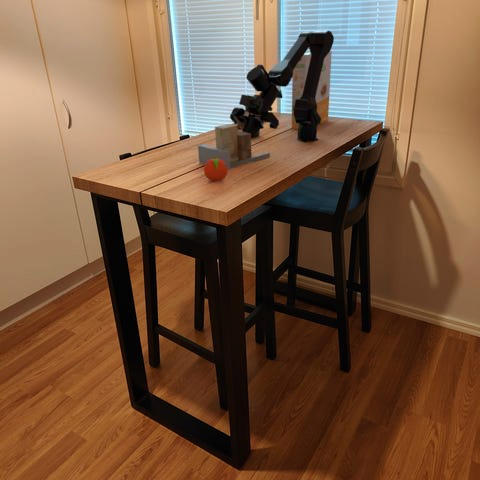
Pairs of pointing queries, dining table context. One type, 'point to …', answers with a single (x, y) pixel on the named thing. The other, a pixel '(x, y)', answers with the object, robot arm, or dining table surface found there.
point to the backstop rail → (223, 156)
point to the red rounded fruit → (215, 169)
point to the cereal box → (322, 89)
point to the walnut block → (244, 145)
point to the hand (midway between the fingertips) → (242, 138)
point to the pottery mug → (236, 121)
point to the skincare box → (227, 140)
